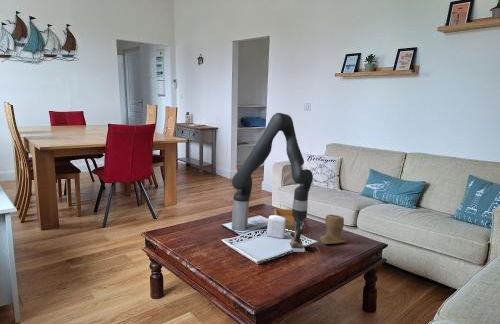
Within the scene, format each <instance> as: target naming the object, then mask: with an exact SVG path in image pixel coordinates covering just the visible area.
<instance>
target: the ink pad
mask: <svg viewBox="0 0 500 324" xmlns="http://www.w3.org/2000/svg"><path fill="white" fill-rule="evenodd" d="M287 244H288V245H289V246H288V245H287V246H288V248H289V247H290V248H289V250H290V249H291V250H293V253H294V252H295V253H305V250H306V249H305V246H304V245H303V246H302V248H300V247H292V245H291V242H288V243H287ZM291 250H290V251H291Z"/></svg>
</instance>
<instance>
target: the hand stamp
mask: <svg viewBox="0 0 500 324" xmlns="http://www.w3.org/2000/svg"><path fill="white" fill-rule="evenodd" d="M294 234H295V236H294V237H293V238H290V239H291V240H290V243H291V245H292V247H300V248H302V246H303V247H304V245H303V244H304V243H303V241H302V239H301V238H300V241H299V242H298V241H296V231H295V232H294Z"/></svg>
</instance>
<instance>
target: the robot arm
mask: <svg viewBox="0 0 500 324" xmlns="http://www.w3.org/2000/svg"><path fill="white" fill-rule="evenodd" d="M279 132H282V134H283V135H284V138H285V141H286V155H287V158H288V160H289V164H290V169H291V177H292V180H293V182H294V183H295V184H296V185H299V186H297V187H296V188H295V189H294V191H293V192H294V193H293V202H292V208H291V210H292V216H293V217H294V231H296V241H298V242H299V241H300V239H301V237H302V236H303V234H304V233H303V229H304V230H305V225H304V226H303V223H304V220H303V219H306V218H308V217H307V216H308V207H309V205H308V204H309V203H308V201H309V191H310V190H311V186H312V183H313V180H314V174H313V171H311V170H310V169H307V168H306V169H302V166H303V165H304V164H305V159H304V157H303V154H302V152H301V150H300V147H299V143H298V139H297V135H296V131H295V126H294V121H293V119H292V117H291V116H290V115H289V114H286V113H282V112H276V113H274V114H273V115H272V116H271V118H270V120H269V121H268V123H267V126H266V127H265V129H264V131H263V133H262V134H261V136H260V138H259V139H258V141H257V142H256V144H255V145H254V146H253V148H252V150H251V151H250V153H249V155H248V156H247V158H245V161H244V163H243V164H242V165H241V167H240V168H239V169H238V170H237V172H236V173H235V174H234V175H233V177H232V180H231V185H232V187H233V188H234V189H235V190H236V191H235V193H234V194H233V203H232V212H231V213H232V214H231V215H232V216H231V230H236V231H245V229H246V230H247V229H248V223H249V207H250V205H249V204H250V197H251V195H252V188H253V178H252V174H253V173H254V172H255V171H256V170H257V169H259V167H260V166H262V165H263V164H264V163H265V161H266V160H267V158H268V157H269V156H270V154H271V151H272V147H273V141H274V139H275V137H276V136H277V134H278V133H279ZM293 234H294V236H295V233H293Z"/></svg>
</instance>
